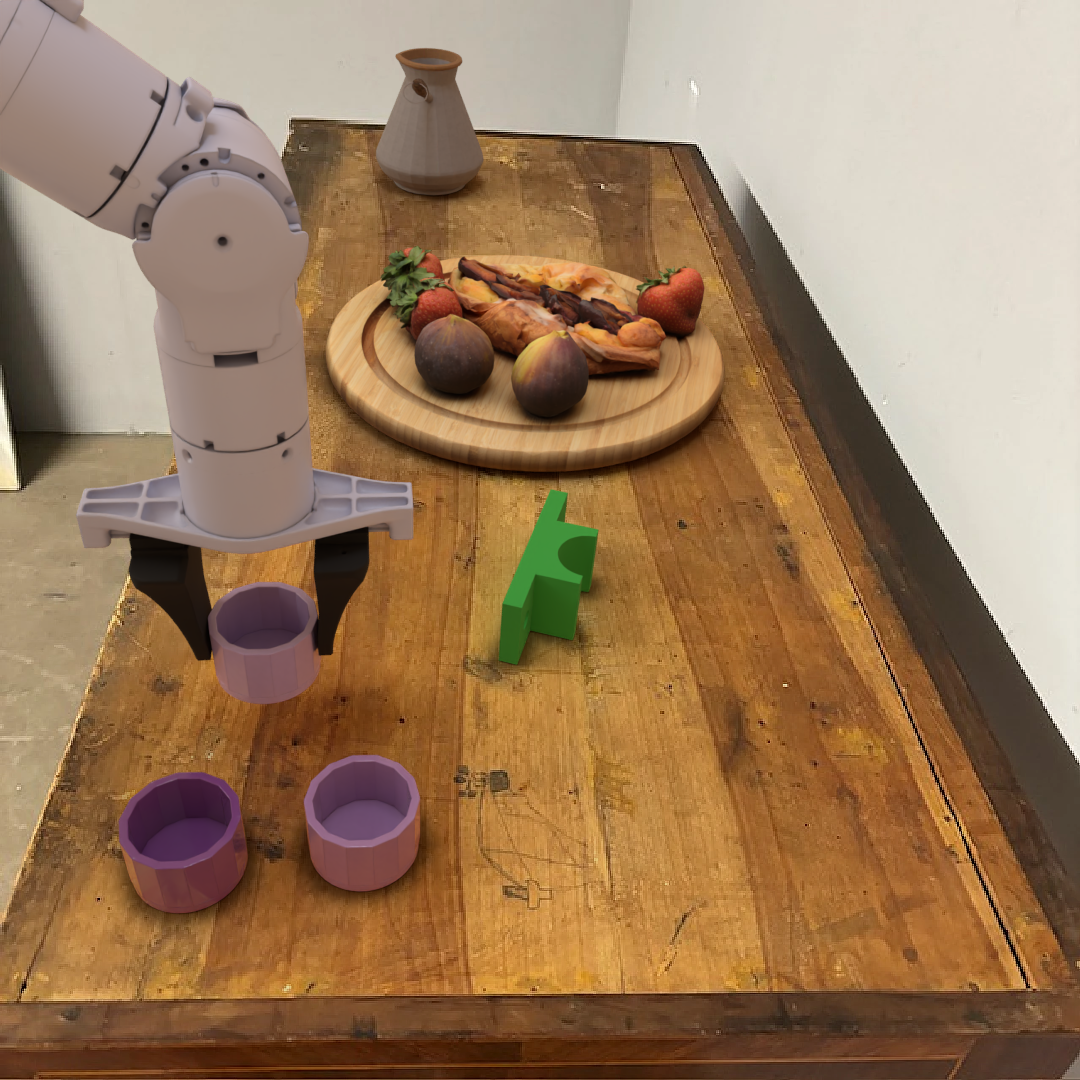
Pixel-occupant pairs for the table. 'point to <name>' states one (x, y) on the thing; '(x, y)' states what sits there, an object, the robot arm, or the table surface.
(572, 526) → the pipe clamp
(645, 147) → the table surface
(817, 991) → the table surface
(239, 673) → the lavender dish
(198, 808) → the plum dish
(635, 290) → the wooden plate
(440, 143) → the coffee pot
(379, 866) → the mauve dish
